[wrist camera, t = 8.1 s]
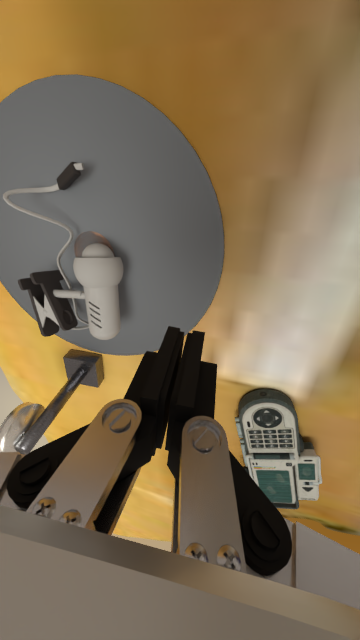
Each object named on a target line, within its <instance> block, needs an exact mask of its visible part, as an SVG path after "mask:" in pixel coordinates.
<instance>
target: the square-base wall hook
mask: <svg viewBox="0 0 360 640" xmlns="http://www.w3.org/2000/svg"><path fill="white" fill-rule="evenodd" d="M63 359H64V363H65V368H66V373H67V377H68V381H67V383H66V384H65V385H64V386H63V388H62V389H61V390H60V391H59V393H58V394H57V395H56V396H55V398H54V399H53V400H52V401H51V403H50V404H49V405H48V406H47V408H46V409H45V408H44V407H43V406H42V405H40V404H35V403H31V402H26V403H23V404H21V405H19V406H18V407H16V408H15V409H14V410H13V411H12V412H11V413H10V414H9V415H8V416H7V417H6V419H5V420H4V422H3V423H2V425H1V427H0V452H20V454H29V453H30V451H31V450H32V448H33V447H34V446H35V444H36V443H37V442H38V440H39V439H40V438H41V436H42V435H43V434H44V432H45V431H46V429H47V428H48V427H49V425H50V424H51V423H52V421H53V420H54V419H55V417H56V416H57V414H58V413H59V412H60V410H61V409H62V408H63V406H64V405H65V404H66V402H67V401H68V399H69V398H70V397H71V395H72V394H73V393H74V391H75V390H76V389H77V387H78V386H79V384H83V385H88V386H93V387H99V386H100V384H101V383H102V381H103V379H104V373H103V363H102V355H100V354H95V353H89V352H84V351H78V350H73V349H71V350H70V351H69V352H68V353H67V354H66V355H65V356H64V357H63Z"/></svg>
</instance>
